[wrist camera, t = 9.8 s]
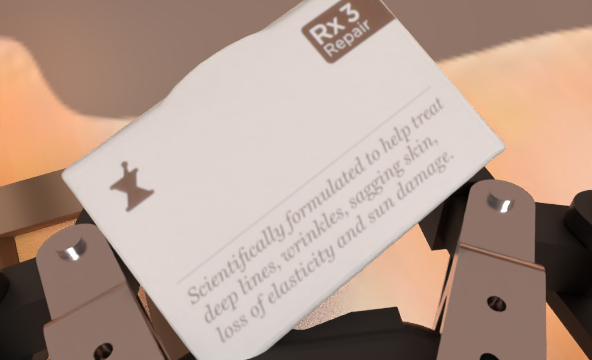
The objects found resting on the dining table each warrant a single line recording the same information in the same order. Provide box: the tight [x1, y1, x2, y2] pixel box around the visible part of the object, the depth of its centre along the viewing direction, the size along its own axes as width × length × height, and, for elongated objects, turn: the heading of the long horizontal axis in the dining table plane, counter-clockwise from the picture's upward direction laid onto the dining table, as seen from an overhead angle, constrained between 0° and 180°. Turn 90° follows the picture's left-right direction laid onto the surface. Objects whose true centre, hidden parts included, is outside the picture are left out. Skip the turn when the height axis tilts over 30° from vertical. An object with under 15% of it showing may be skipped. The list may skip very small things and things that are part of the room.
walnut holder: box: [0, 168, 190, 360], centre depth 25 cm, size 15×15×2 cm
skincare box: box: [62, 0, 506, 360], centre depth 12 cm, size 6×4×12 cm
